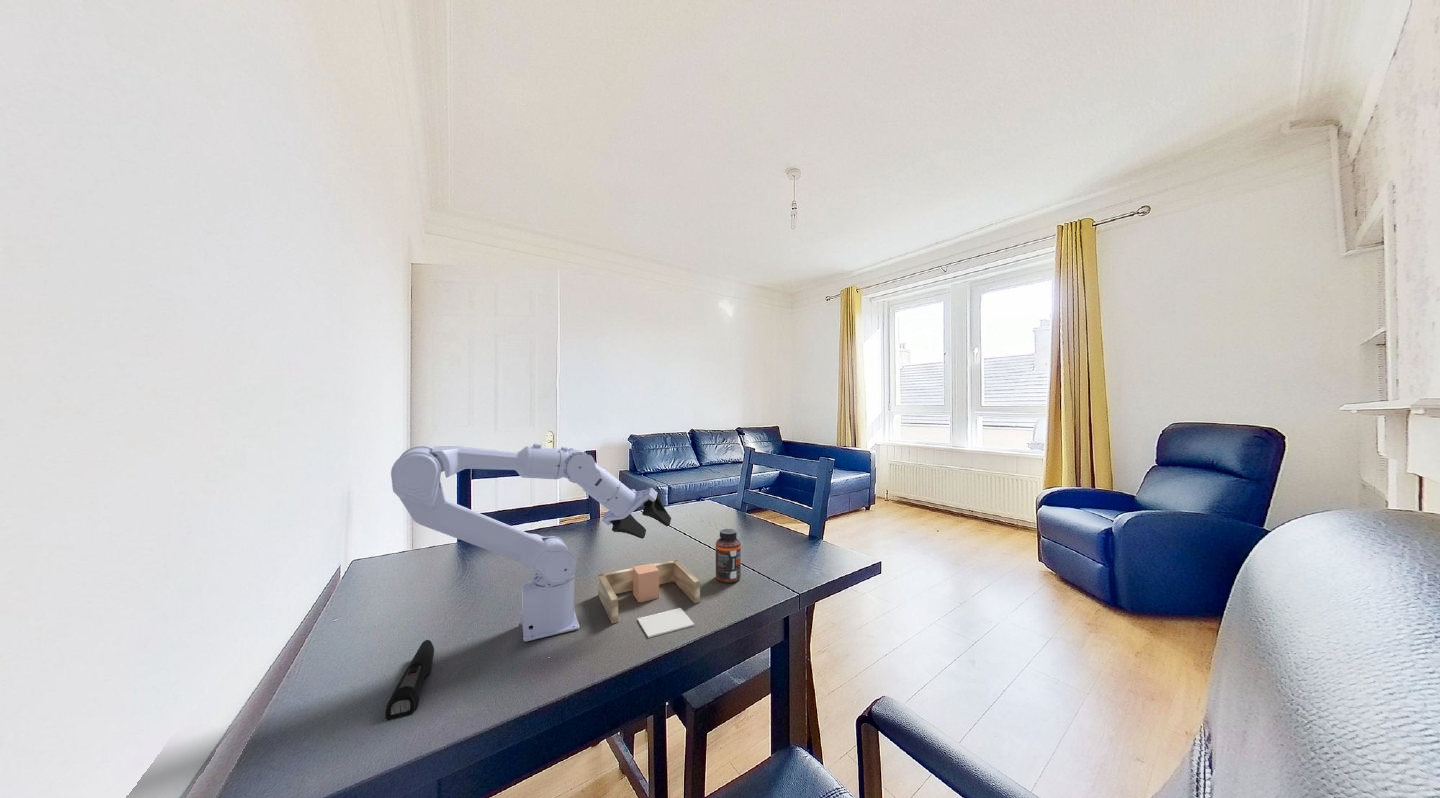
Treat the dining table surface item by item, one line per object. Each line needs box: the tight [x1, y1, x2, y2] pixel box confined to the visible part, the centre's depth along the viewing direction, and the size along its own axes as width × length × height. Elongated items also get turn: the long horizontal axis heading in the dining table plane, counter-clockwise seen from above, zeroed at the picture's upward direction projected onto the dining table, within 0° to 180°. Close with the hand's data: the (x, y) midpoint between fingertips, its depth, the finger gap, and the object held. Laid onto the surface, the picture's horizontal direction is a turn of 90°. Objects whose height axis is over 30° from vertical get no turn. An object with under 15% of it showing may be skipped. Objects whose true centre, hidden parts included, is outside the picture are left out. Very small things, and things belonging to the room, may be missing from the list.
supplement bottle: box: [715, 528, 742, 584], centre depth 102 cm, size 6×6×11 cm
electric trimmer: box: [385, 639, 435, 721], centre depth 65 cm, size 4×16×3 cm, turn 23°
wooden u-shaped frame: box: [597, 559, 701, 624], centre depth 92 cm, size 18×13×4 cm
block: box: [632, 562, 660, 603], centre depth 93 cm, size 4×4×6 cm
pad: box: [636, 607, 695, 639], centre depth 82 cm, size 9×7×1 cm
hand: (656, 528), depth 92 cm, fingers open, 7 cm apart
